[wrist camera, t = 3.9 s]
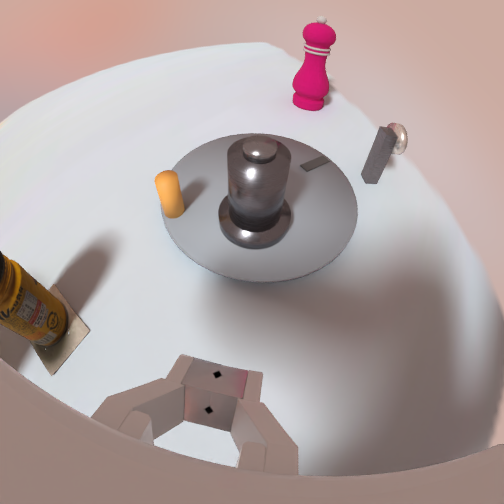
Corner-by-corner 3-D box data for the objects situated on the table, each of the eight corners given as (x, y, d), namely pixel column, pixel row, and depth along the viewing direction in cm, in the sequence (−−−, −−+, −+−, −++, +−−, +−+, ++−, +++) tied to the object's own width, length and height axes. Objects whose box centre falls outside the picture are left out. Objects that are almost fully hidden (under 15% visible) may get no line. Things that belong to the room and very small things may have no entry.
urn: (294, 247, 28) (316, 174, 20) (220, 251, 27) (213, 177, 19) (282, 193, 32) (295, 121, 24) (218, 196, 31) (213, 122, 23)
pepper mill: (287, 107, 48) (300, 14, 31) (292, 94, 51) (303, 11, 35) (324, 115, 47) (343, 22, 30) (325, 101, 51) (341, 18, 34)
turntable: (381, 272, 28) (405, 243, 23) (152, 289, 26) (134, 259, 21) (325, 138, 40) (333, 109, 35) (172, 142, 38) (167, 110, 33)
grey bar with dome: (385, 189, 37) (411, 136, 28) (368, 189, 36) (393, 133, 28) (374, 170, 39) (396, 117, 30) (358, 168, 39) (378, 114, 30)
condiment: (54, 284, 26) (-4, 225, 16) (90, 331, 24) (20, 278, 14) (21, 325, 23) (-44, 279, 13) (53, 376, 21) (-27, 344, 11)
